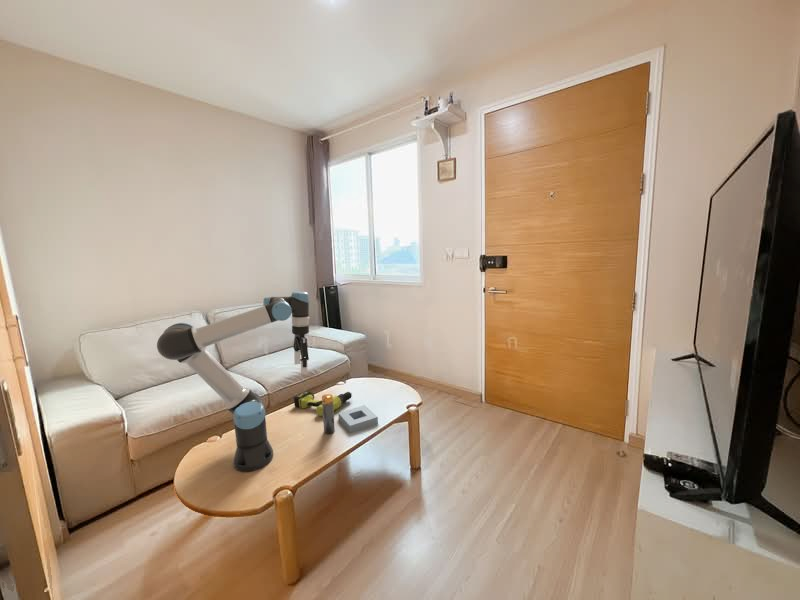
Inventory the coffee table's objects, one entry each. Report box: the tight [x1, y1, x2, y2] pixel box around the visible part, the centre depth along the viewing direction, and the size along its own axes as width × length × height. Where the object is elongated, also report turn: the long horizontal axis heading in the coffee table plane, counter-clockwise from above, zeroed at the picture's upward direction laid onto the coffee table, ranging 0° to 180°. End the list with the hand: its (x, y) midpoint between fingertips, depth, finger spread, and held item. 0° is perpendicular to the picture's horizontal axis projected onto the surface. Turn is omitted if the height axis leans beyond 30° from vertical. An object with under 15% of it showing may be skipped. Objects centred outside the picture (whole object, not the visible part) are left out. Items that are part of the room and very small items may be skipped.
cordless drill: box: [293, 390, 353, 417], centre depth 185 cm, size 7×25×25 cm
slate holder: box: [338, 404, 379, 433], centre depth 166 cm, size 15×15×4 cm
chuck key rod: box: [321, 393, 336, 435], centre depth 156 cm, size 5×5×18 cm
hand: (300, 368), depth 155 cm, fingers open, 13 cm apart
